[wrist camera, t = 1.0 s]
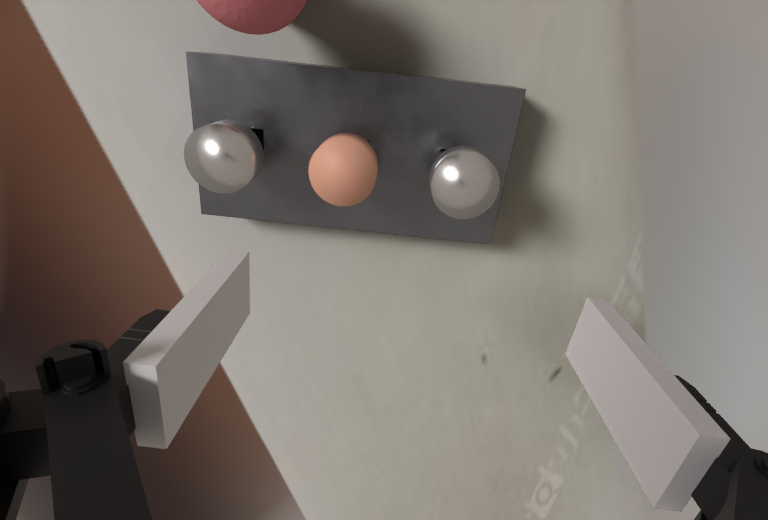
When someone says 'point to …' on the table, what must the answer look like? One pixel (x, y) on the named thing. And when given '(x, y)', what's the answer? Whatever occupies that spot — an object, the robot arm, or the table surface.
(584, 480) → the table surface
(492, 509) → the table surface
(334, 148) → the knob
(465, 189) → the knob
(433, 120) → the mount plate
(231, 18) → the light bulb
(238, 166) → the knob
